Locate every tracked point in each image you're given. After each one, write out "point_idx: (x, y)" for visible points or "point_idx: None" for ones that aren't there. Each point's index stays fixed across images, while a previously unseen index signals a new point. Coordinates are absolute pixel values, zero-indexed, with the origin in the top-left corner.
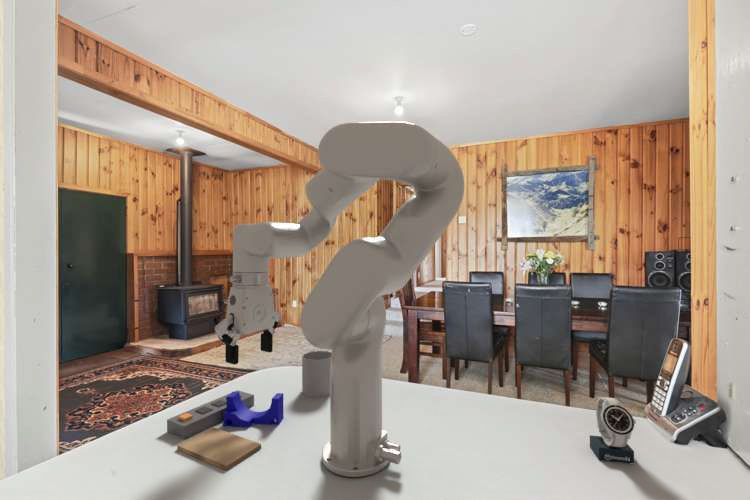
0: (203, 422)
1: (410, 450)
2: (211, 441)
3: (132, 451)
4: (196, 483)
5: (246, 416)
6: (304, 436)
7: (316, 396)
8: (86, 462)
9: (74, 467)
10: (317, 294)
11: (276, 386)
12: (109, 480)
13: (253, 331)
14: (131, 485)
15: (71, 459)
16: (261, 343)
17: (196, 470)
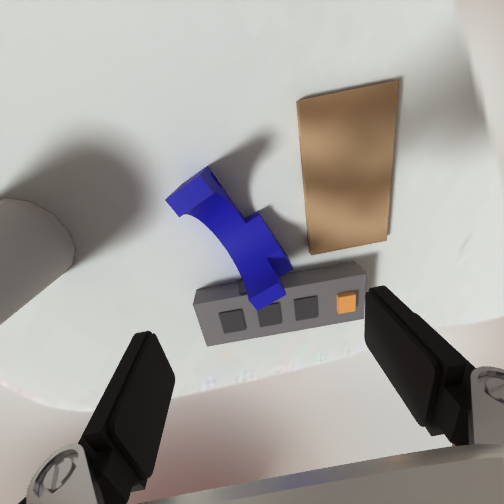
0: (321, 276)
1: None
2: (348, 205)
3: (415, 283)
4: (445, 92)
5: (252, 237)
6: (191, 50)
7: (46, 214)
8: (458, 297)
9: (471, 295)
10: None
11: (109, 335)
12: (481, 227)
13: (398, 483)
14: (482, 186)
15: (459, 317)
16: (164, 410)
17: (414, 139)
